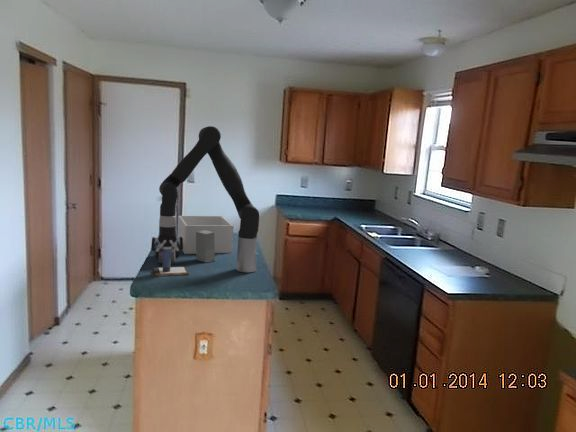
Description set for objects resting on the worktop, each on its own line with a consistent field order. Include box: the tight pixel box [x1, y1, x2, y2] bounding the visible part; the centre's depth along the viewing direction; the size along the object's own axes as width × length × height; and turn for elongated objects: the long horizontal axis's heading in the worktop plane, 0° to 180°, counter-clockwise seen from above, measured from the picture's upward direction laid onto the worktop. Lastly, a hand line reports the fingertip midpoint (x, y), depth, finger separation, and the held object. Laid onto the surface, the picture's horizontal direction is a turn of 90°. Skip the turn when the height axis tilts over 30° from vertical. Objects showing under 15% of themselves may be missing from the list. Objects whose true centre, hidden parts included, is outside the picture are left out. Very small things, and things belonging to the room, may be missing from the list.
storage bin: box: [177, 215, 235, 255], centre depth 266 cm, size 27×31×16 cm
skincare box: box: [195, 230, 216, 263], centre depth 237 cm, size 8×7×16 cm
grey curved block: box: [157, 234, 178, 265], centre depth 232 cm, size 25×8×11 cm, turn 10°
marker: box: [161, 246, 172, 272], centre depth 210 cm, size 4×4×12 cm
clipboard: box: [153, 266, 190, 277], centre depth 213 cm, size 15×11×2 cm
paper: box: [158, 266, 186, 274], centre depth 213 cm, size 12×9×1 cm
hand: (167, 258), depth 210 cm, fingers open, 8 cm apart
